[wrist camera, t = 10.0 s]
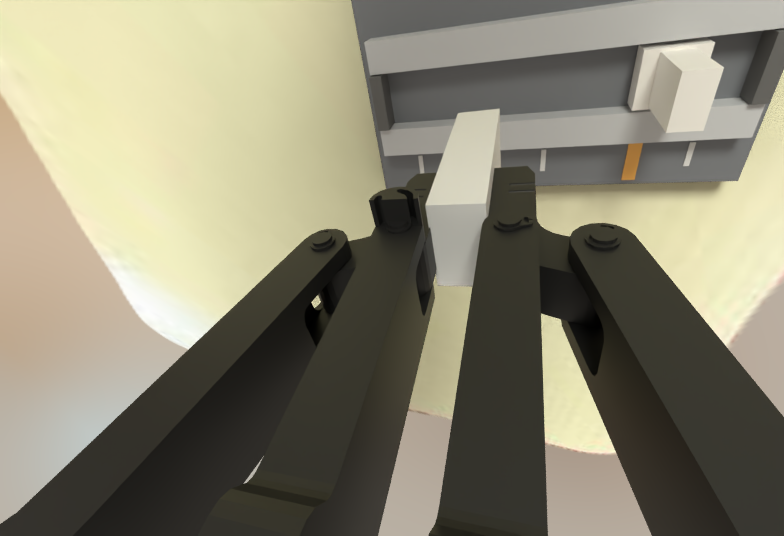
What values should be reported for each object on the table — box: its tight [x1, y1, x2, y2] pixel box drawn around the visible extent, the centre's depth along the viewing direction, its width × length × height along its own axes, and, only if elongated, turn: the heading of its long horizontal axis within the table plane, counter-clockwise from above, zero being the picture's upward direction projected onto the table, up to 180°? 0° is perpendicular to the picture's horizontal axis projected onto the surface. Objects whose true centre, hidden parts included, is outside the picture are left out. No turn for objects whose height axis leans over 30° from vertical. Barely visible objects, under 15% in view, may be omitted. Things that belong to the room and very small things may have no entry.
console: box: [351, 0, 784, 189], centre depth 31 cm, size 18×30×4 cm, turn 99°
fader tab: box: [627, 37, 724, 133], centre depth 26 cm, size 4×4×7 cm
